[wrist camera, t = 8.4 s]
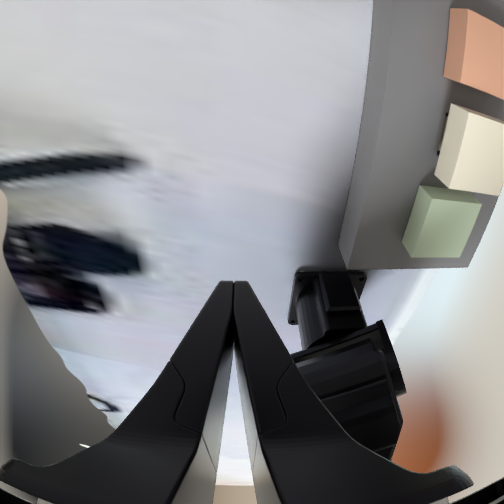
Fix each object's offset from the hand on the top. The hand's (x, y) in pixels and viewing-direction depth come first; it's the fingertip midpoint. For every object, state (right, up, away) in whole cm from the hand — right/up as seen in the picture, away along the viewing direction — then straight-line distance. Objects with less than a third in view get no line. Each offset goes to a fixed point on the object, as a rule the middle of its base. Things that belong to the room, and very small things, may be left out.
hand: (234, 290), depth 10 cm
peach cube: (+14, +15, +5) cm, 21 cm away
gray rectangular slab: (+14, +10, +9) cm, 19 cm away
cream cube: (+14, +9, +8) cm, 18 cm away
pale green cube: (+14, +6, +12) cm, 19 cm away
